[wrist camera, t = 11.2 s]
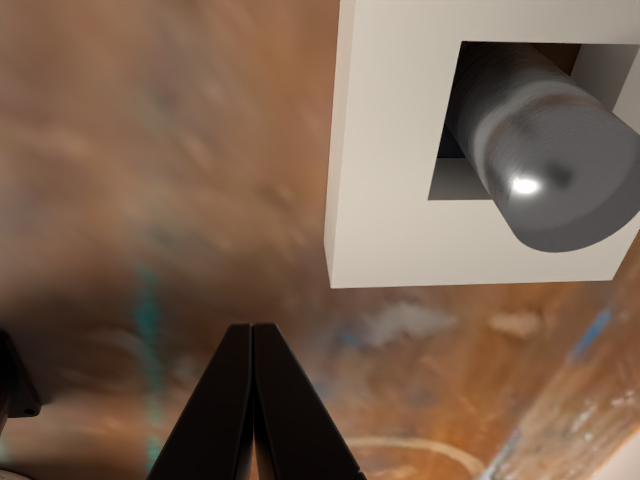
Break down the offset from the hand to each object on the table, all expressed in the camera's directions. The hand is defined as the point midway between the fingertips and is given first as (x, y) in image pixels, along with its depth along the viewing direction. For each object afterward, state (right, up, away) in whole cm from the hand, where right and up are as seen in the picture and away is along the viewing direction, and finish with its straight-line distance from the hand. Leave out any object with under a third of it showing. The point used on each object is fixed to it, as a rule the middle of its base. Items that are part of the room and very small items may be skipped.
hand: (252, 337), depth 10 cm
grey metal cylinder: (+8, +7, +10) cm, 14 cm away
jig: (+8, +7, +10) cm, 15 cm away
